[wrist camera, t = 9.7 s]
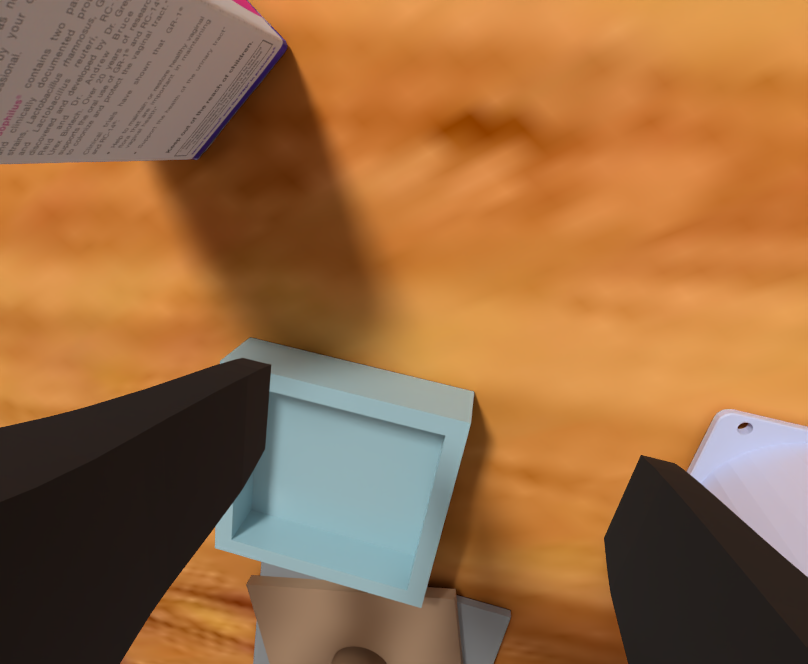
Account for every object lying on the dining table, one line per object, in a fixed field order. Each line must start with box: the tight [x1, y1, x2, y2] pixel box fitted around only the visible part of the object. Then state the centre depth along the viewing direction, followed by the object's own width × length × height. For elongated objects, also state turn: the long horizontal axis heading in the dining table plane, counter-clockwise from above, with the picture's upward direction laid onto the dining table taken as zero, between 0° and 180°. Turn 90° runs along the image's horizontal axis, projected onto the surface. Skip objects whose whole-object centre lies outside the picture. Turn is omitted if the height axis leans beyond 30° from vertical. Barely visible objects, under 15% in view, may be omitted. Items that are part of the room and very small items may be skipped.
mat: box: [253, 562, 511, 664], centre depth 28 cm, size 13×13×1 cm
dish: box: [215, 337, 474, 608], centre depth 22 cm, size 10×10×2 cm
